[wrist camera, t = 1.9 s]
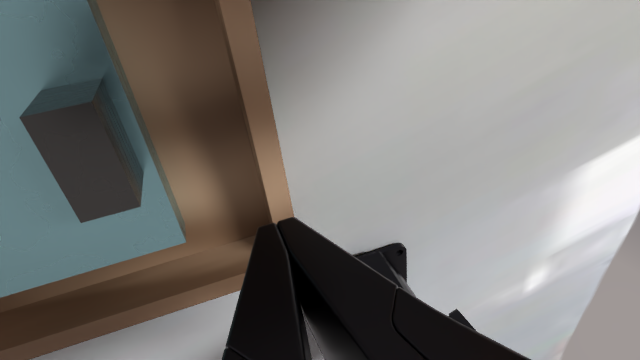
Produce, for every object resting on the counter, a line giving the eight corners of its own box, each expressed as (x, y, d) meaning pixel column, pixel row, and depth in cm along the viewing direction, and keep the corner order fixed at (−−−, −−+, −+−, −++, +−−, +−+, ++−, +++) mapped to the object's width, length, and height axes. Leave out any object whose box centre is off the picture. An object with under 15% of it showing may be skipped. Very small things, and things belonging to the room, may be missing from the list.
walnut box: (287, 228, 23) (304, 269, 20) (-112, 349, 19) (-160, 421, 17) (197, -186, 13) (206, -218, 11) (-657, -106, 9) (-1008, -123, 7)
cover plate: (184, 223, 20) (188, 280, 17) (7, 274, 18) (-28, 348, 15) (73, -58, 13) (42, -54, 10) (-221, -15, 12) (-370, 6, 8)
